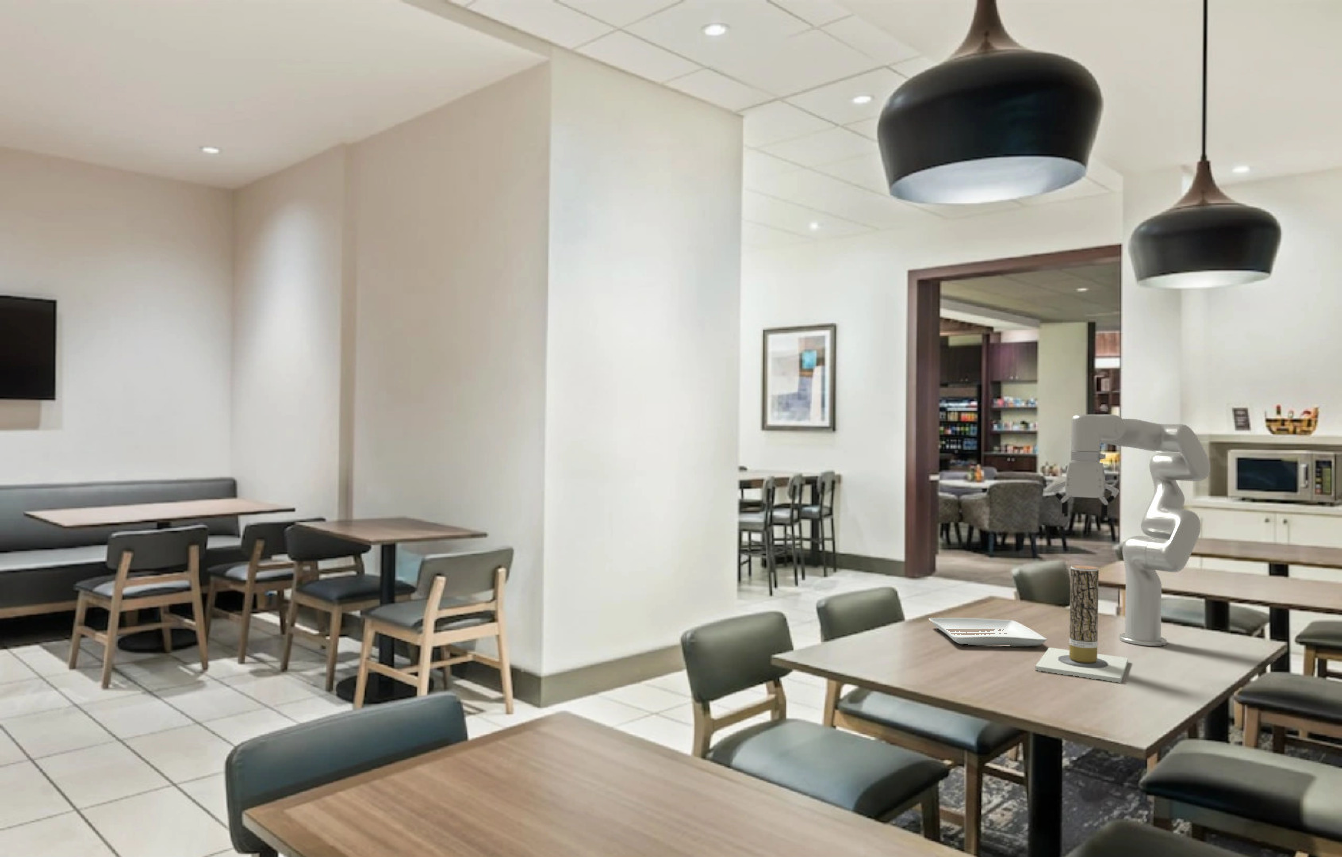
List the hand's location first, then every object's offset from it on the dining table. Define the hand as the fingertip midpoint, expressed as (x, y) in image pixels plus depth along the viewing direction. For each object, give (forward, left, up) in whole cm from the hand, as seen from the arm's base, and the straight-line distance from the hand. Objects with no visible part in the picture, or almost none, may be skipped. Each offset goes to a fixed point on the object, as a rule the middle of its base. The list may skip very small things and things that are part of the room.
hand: (1084, 517), depth 252 cm
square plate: (-1, -27, -39) cm, 47 cm away
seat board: (+18, +2, -38) cm, 42 cm away
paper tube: (+18, +2, -37) cm, 41 cm away
